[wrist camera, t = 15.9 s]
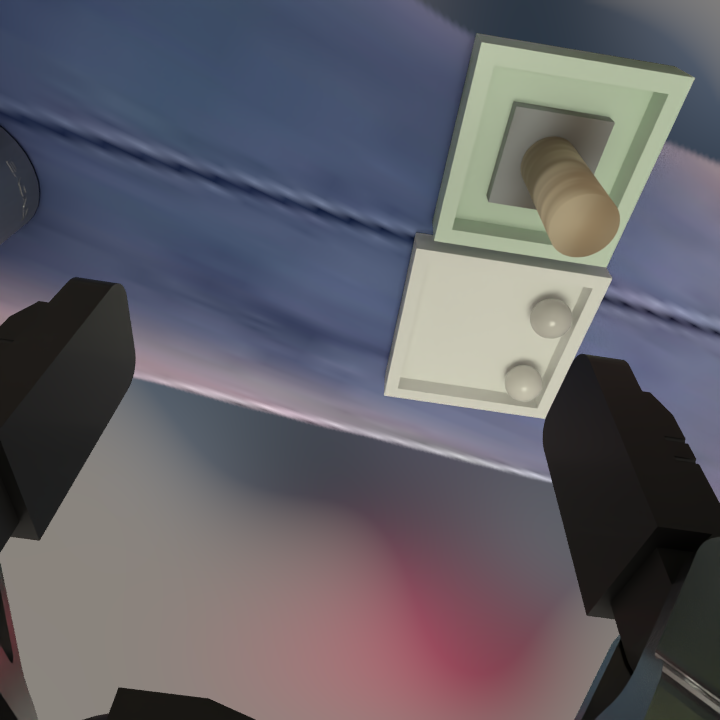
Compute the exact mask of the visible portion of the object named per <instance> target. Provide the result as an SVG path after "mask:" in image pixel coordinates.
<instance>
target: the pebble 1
mask: <svg viewBox="0 0 720 720" xmlns="http://www.w3.org/2000/svg"><path fill="white" fill-rule="evenodd" d="M542 386H543V381H542V377H541V375H540V373H539V372H538V371H537V370H536V369H534V368H533V367H531V366H527V365H520V366H516V367H514V368H512V369H511V370H510V371H509V372H508V374H507V375H506V378H505V389H506V391H507V393H508V394H509V395H510V397H512V398H513V399H515V400H517V401H521V402H527V401H531V400H533V399H535V398H536V397H537V396H538V395H539V394H540V392H541V390H542Z"/></svg>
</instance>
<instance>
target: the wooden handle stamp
mask: <svg viewBox="0 0 720 720" xmlns="http://www.w3.org/2000/svg"><path fill="white" fill-rule="evenodd" d="M614 124H615V122H614V121H613V120H612V119H611V118H610V117H607V116H601V115H595V114H589V113H582V112H576V111H570V110H564V109H558V108H552V107H546V106H540V105H534V104H528V103H522V102H516V101H513V104H512V108H511V111H510V115H509V118H508V122H507V125H506V129H505V132H504V135H503V139H502V142H501V146H500V149H499V153H498V156H497V160H496V163H495V167H494V170H493V174H492V177H491V180H490V184H489V187H488V191H487V194H486V196H487V199H488V202H490V203H497V204H503V205H509V206H515V207H522V208H528V209H534V210H537V212H538V214H539V216H540V218H541V221H542V223H543V225H544V228H545V230H546V232H547V234H548V237H549V239H550V241H551V243H552V245H553V247H554V248H555V249H556V250H557V251H558V252H560V253H561V254H563V255H566V256H569V257H585V256H589V255H592V254H595V253H597V252H599V251H600V250H602V249H603V248H605V247H606V246H607V245H608V244H609V243H610V242H611V241H612V240H613V238H614V237H615V235H616V233H617V231H618V228H619V224H620V214H619V211H618V208H617V207H616V205H615V204H614V202H613V201H612V199H611V198H610V197H609V195H608V194H607V193H606V191H605V190H604V188H603V187H602V186H601V184H600V183H599V181H598V180H597V179H596V177H595V176H594V173H595V171H596V169H597V166H598V164H599V161H600V159H601V156H602V154H603V151H604V149H605V146H606V144H607V141H608V139H609V136H610V134H611V132H612V129H613V127H614Z"/></svg>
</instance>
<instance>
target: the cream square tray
mask: <svg viewBox="0 0 720 720" xmlns="http://www.w3.org/2000/svg"><path fill="white" fill-rule="evenodd" d="M611 280H612V277H611V275H610V274H609V272H608V270H607V268H606V267H599V266H593V265H586V264H580V263H573V262H567V261H561V260H554V259H548V258H541V257H535V256H528V255H522V254H515V253H509V252H502V251H496V250H489V249H483V248H476V247H470V246H463V245H457V244H450V243H444V242H438V241H434V235H429V234H422V233H416V235H415V239H414V244H413V249H412V253H411V258H410V262H409V267H408V272H407V276H406V281H405V286H404V290H403V295H402V300H401V304H400V309H399V313H398V318H397V323H396V327H395V332H394V337H393V341H392V346H391V351H390V355H389V360H388V364H387V369H386V374H385V385H384V396H391V397H398V398H405V399H412V400H419V401H426V402H433V403H440V404H447V405H453V406H460V407H467V408H474V409H481V410H488V411H495V412H502V413H509V414H516V415H523V416H530V417H537V418H543V419H545V417H546V415H547V413H548V411H549V409H550V407H551V405H552V403H553V401H554V399H555V396H556V394H557V392H558V390H559V388H560V386H561V384H562V382H563V380H564V378H565V376H566V374H567V372H568V370H569V367H570V365H571V363H572V361H573V359H574V357H575V355H576V353H577V351H578V349H579V347H580V345H581V343H582V340H583V338H584V336H585V334H586V332H587V330H588V328H589V326H590V324H591V322H592V320H593V318H594V316H595V314H596V311H597V309H598V307H599V305H600V303H601V301H602V299H603V297H604V295H605V293H606V291H607V289H608V287H609V284H610V282H611ZM552 298H553V299H558V300H561V301H563V302H564V303H566V304H567V305H568V307H569V308H570V310H571V312H572V324H571V327H570V328H569V330H568V331H567V332H566V333H565V334H564V335H562V336H561V337H558V338H554V339H548V338H544V337H541V336H539V335H538V334H537V333H536V332H535V331H534V330H533V328H532V326H531V323H530V315H531V312H532V310H533V308H534V307H535V305H537V304H538V303H539V302H541V301H543V300H545V299H552ZM520 365H527V366H531V367H533V368H534V369H536V370H537V371H538V372H539V373H540V375H541V377H542V381H543V386H542V390H541V392H540V394H539V395H538V396H537V397H536V398H535V399H533V400H531V401H527V402H521V401H517V400H515V399H513V398H512V397H510V395H509V394H508V393H507V391H506V389H505V378H506V375H507V374H508V372H509V371H510V370H511V369H512V368H514V367H516V366H520Z"/></svg>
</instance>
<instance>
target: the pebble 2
mask: <svg viewBox="0 0 720 720" xmlns="http://www.w3.org/2000/svg"><path fill="white" fill-rule="evenodd" d="M530 323H531V326H532V328H533V330H534V331H535V332H536V333H537V334H538V335H539V336H541V337H544V338H548V339H554V338H558V337H561V336H562V335H564V334H565V333H566V332H567V331H568V330H569V328H570V327H571V324H572V312H571V310H570V308H569V307H568V305H567V304H566V303H564V302H563V301H561V300H558V299H553V298H552V299H545V300H543V301H541V302H539V303H538V304H537V305H535V307H534V308H533V310H532V312H531V315H530Z"/></svg>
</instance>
